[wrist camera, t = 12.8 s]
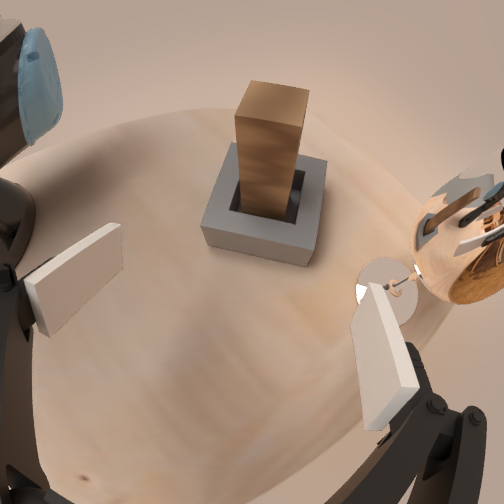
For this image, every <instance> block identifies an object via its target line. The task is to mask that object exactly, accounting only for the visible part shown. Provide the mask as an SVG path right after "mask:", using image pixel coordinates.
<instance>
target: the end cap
mask: <svg viewBox="0 0 504 504" xmlns="http://www.w3.org/2000/svg"><path fill="white" fill-rule="evenodd" d="M326 167H327V161H325V160H321V159H317V158H312V157H308V156H303V155H299V154H298V156H297V161H296V166H295V171H294V176H293V181H292V187H291V192H290V197H289V201H288V206H287V210H286V214H285V219H284V222H282V221H277V220H272V219H268V218H263V217H258V216H254V215H249V214H244V213H242V206H241V193H240V180H239V167H238V154H237V143H233V142H231V145H230V147H229V150H228V153H227V155H226V158H225V160H224V163H223V165H222V168H221V170H220V173H219V176H218V178H217V181H216V184H215V186H214V189H213V192H212V194H211V197H210V200H209V203H208V205H207V208H206V211H205V214H204V217H203V219H202V222H201V225H200V226H201V228H202V231H203V234H204V236H205V239H206V241H207V244H208V245H209V246H213V247H218V248H222V249H227V250H231V251H236V252H240V253H244V254H249V255H253V256H258V257H262V258H266V259H271V260H275V261H280V262H284V263H289V264H293V265H298V266H302V267H306V265H307V264H308V262H309V260H310V258H311V256H312V254H313V252H314V250H315V244H316V238H317V232H318V226H319V219H320V212H321V205H322V198H323V191H324V183H325V176H326Z"/></svg>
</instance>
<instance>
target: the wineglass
mask: <svg viewBox="0 0 504 504" xmlns="http://www.w3.org/2000/svg"><path fill="white" fill-rule="evenodd" d="M410 247H411V256H412V262H413V266H414V269H415V272H413V273H411V271H410V270H409V269H408V268H407V266H405V265H404V264H403V263H402V262H400V261H398V260H396V259H393V258H390V257H379V258H376V259H373V260H371V261H369V262H368V263H367V264H366V265H365V266H364V267H363V268H362V269H361V271H360V272H359V275H358V277H357V280H356V286H355V294H356V299H357V303H358V305H359V304H360V301H361V299H362V297H363V294H364V292H365V290H366V287H367V285H368V282H370V283H375V284H379V285H382V286H383V289H384V291H385V293H386V296H387V298H388V300H389V303H390V305H391V308H392V310H393V313H394V315H395V318H396V320H397V323H398V325H399V326H400V325H402V324H404V323H405V322H407V321H408V320H409V319H410V317H411V316H412V315H413V313H414V311H415V309H416V306H417V302H418V288H417V283H416V281H415V280H417V279H420V281H421V282H422V283H423V285H424V286H425V287H426V288H427V289H428V290H429V291H430V292H431V293H433V294H434V295H435V296H436V297H438V298H439V299H441V300H443V301H445V302H449V303H453V304H470V303H474V302H478V301H481V300H483V299H485V298H487V297H489V296H491V295H493V294H495V293H497V292H498V291H500V290H501V289H503V288H504V146H502V147H501V148H499V149H498V150H496V151H495V152H493V153H491V154H490V155H488V156H487V157H485V158H483V159H482V160H480V161H479V162H477V163H476V164H474V165H473V166H471V167H470V168H468V169H466V170H465V171H464V172H462V173H461V174H459V175H458V176H456V177H455V178H453V179H452V180H450V181H449V182H448V183H446V184H445V185H444V186H442V187H441V188H440V189H439V190H438V191H437V192H435V193H434V194H433V195H432V196H431V197H430V198H429V199H428V201H427V202H426V203H425V204H424V205H423V207H422V208H421V210H420V211H419V212H418V214H417V217H416V219H415V221H414V225H413V228H412V232H411V239H410Z"/></svg>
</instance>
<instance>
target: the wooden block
mask: <svg viewBox="0 0 504 504" xmlns="http://www.w3.org/2000/svg"><path fill="white" fill-rule="evenodd" d="M308 95H309V90H306V89H301V88H296V87H290V86H285V85H279V84H272V83H265V82H259V81H251V82H250V84H249V86H248V88H247V90H246V92H245V95H244V97H243V99H242V101H241V103H240V105H239V107H238V109H237V111H236V114H235V127H236V140H237V154H238V167H239V180H240V193H241V206H242V213H244V214H249V215H254V216H258V217H263V218H268V219H272V220H277V221H282V222H284V219H285V214H286V210H287V206H288V201H289V197H290V192H291V187H292V181H293V176H294V171H295V166H296V161H297V156H298V150H299V145H300V140H301V134H302V129H303V123H304V118H305V112H306V107H307V101H308Z"/></svg>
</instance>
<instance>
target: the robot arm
mask: <svg viewBox="0 0 504 504" xmlns="http://www.w3.org/2000/svg"><path fill="white" fill-rule="evenodd" d="M62 110H63V97H62V90H61V84H60V79H59V74H58V69H57V65H56V61H55V58H54V54H53V51H52V48H51V45H50V42H49V40H48V38H47V37H46V34H45V32H44V30H43V29H42V28H39V27H38V28H34V29H30V30H28V31H27V32H25V30H24V28H23V25H22V24H21V21H20V20H16V19H3V18H2V17H1V16H0V169H1V168H2V167H3V166H4V165H6V164H7V163H8V162H9V161H11V160H12V159H13V158H14V157H16V156H17V155H18V154H19V153H21V152H22V151H23V150H25V149H26V148H27V147H28V146H32V145H34V143H35V142H36V140H38V139H39V138H40V137H42V136H43V135H44V134H46V133H47V132H48V131H50V130H51V129H52V128H54V127H55V126H56V125H57V123H58V122H59V120H60V118H61V115H62ZM34 217H35V205H34V201H33V198H32V196H31V195H30V193H29V192H27V191H26V190H25V189H24V188H23V187H22V186H21V185H19V184H17V183H13V182H10V181H8V180H5V179H3V178H0V504H74V503H72V502H71V501H69V500H67V499H66V498H64V497H63V496H61V495H59V494H58V493H56V492H55V491H53V490H52V489H50V486H49V482H48V480H47V477H46V475H45V474H44V472H43V470H42V468H41V466H40V463H39V458H38V452H37V445H36V438H35V429H34V419H33V405H32V347H33V328H32V325H33V324H34V323H35V322H36V323H37V326H38V329H39V332H41V333H42V334H44V335H46V336H47V337H49V338H51V337H52V336H53V335H54V334H55V333H56V332H57V331H58V330H59V329H60V328H61V327H62V326H63V325H64V324H65V323H66V322H67V321H68V320H69V319H70V318H71V317H72V316H73V315H74V314H75V313H76V312H77V311H78V310H79V309H80V308H81V307H82V306H83V305H84V304H85V303H86V302H87V301H88V300H90V299H91V298H92V297H93V296H94V295H95V294H96V293H97V292H98V291H99V290H100V289H101V288H102V287H103V286H104V285H105V284H107V283H108V282H109V281H110V280H111V279H112V278H113V277H114V276H115V275H116V274H118V273H119V272H120V271H121V270H122V269H123V263H122V236H121V224H116V223H112V222H110V223H108V224H106V225H105V226H103V227H101V228H100V229H98V230H96V231H95V232H93V233H92V234H90V235H88V236H87V237H85V238H83V239H82V240H80V241H79V242H77V243H76V244H74V245H73V246H71V247H69V248H68V249H66V250H65V251H63V252H62V253H60V254H59V255H57V256H55V257H52V258H50V259H48V260H47V261H45V262H44V263H43V264H41V265H40V266H38V267H37V269H36V268H35V269H34V270H33V271H31V272H30V273H28V274H27V275H26V276H24V277H23V278H21V279H20V280H19V281H18V280H17V276H16V272H15V268H14V267H15V266H16V264H17V263H18V261H19V260H20V258H21V256H22V255H23V253H24V251H25V249H26V246H27V244H28V241H29V239H30V236H31V232H32V229H33V224H34ZM350 328H351V334H352V340H353V346H354V352H355V359H356V365H357V372H358V379H359V387H360V395H361V403H362V412H363V422H364V430H371V431H382V429H384V428H385V426H387V424H388V423H389V424H390V432H389V433H388V434H387V435H386V436H385V437H384V438H383V439H382V440H380V441H379V442H378V443H377V444H378V446H377V448H376V449H375V450H374V452H372V454H371V455H370V456H369V457H368V458H367V460H366V461H365V462H364V463H363V464H362V465H361V466H360V468H359V469H358V470H357V471H356V472H355V473H354V474H353V475H352V476H351V478H350V479H349V480H348V481H347V482H346V483H345V484H344V485H343V486H342V487H341V488H340V489H339V490H338V491H337V492H336V493H335V494H334V495H333V496H332V497H331V498H330V499H329V500H328V501H326V502H325V503H324V504H398V502H399V501H400V499H401V498H402V496H403V495H404V493H405V492H406V491H407V489H408V488H409V486H410V485H411V483H412V482H413V480H414V478H415V477H416V475H417V477H416V480H415V483H414V486H413V489H412V492H411V495H410V497H409V500H408V502H407V504H478V499H479V494H480V488H481V482H482V476H483V468H484V460H485V449H486V431H487V421H486V417H485V415H484V413H483V412H482V411H481V410H480V409H479V408H478V407H476V406H468V407H467V408H466V409H465V410H464V411H463V412H462V413H459V412H456V411H453V410H450V409H448V406H447V403H446V402H445V400H444V399H443V398H442V397H441V396H439V395H437V394H435V393H433V391H432V388H431V385H430V382H429V379H428V377H427V374H426V371H425V369H424V366H423V363H422V362H421V357H420V355H419V352H418V350H417V349H416V348H415V347H414V345H413V344H412V343H410V342H404V339H403V336H402V333H401V331H400V328H399V325H398V323H397V320H396V318H395V315H394V313H393V310H392V308H391V305H390V303H389V300H388V298H387V296H386V293H385V291H384V289H383V286H382V285H379V284H375V283H370V282H368V285H367V287H366V290H365V292H364V294H363V297H362V299H361V301H360V304H359V306H358V308H357V310H356V313H355V315H354V317H353V319H352V321H351V324H350ZM417 473H418V474H417ZM8 486H9V487H10V488H11V490H9V487H8Z"/></svg>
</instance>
